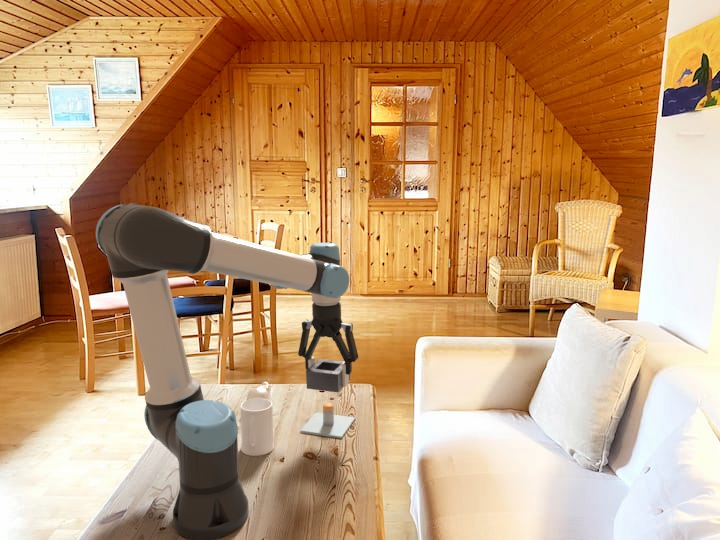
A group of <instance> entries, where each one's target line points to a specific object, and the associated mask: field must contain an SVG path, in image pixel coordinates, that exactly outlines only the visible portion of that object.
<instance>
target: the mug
mask: <svg viewBox="0 0 720 540" xmlns="http://www.w3.org/2000/svg"><path fill="white" fill-rule="evenodd" d="M239 407H240V408H239V409H240V433H241V435H240V436H241V445H240V446H241V447H240V450H241V451H240V452H242V453H243V454H244V455H246V456H250V457H251V456H252V457H258V456H265V455H267V454H270V453H271V452H272V451H273V450H274V449H275V443H274V441H275V440H274V418H273V416H274V415H273V411H274V410H273V409H274V408H273V401H272V400H271V401H270V400H268V399H263V398H255V399H249V400H246V399H245V400H244V401H243V402H241V404H240V406H239Z"/></svg>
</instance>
